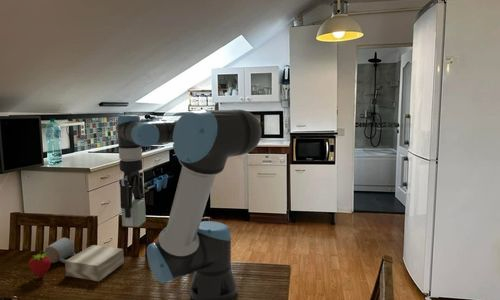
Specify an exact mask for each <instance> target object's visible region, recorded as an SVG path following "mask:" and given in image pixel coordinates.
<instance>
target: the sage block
mask: <svg viewBox="0 0 500 300" xmlns="http://www.w3.org/2000/svg"><path fill="white" fill-rule="evenodd" d="M120 208H121V207H120ZM131 208H133V218H134V226H132V227H133V228H134V227H135V228H136V227H137V228H139V227H140V226H142V225H143V224H144V223H146V220H147V218H146V214H147V213H146V200H145V199H144V200H137V199H134V198H132V207H131ZM121 221H122V222H121V225H122V227H127V226H126V224H125V209H122V208H121Z"/></svg>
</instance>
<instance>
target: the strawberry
mask: <svg viewBox="0 0 500 300" xmlns="http://www.w3.org/2000/svg"><path fill="white" fill-rule="evenodd" d="M41 252H42V251H40V252H39V253H38V254H36V255H35V254H34V255H33V257H32V258H31V259H30V260H29V262H28V267H29V269H30V271H32V273H33V274H34V275H35V276H37V277H38V278H41V279H43V277H45V275H46V274H47V273H48V271H49V269H50V268H51V264H52V263H51V260H50V258H48V257H47V255H46V254H48V253H46V254H44V253H42V254H41Z"/></svg>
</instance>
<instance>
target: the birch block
mask: <svg viewBox="0 0 500 300" xmlns="http://www.w3.org/2000/svg"><path fill="white" fill-rule="evenodd" d="M75 254H76V255H74V256H73V255H72V256H71V257H69V258H67V259H65V260H66V261H65V263H64V266H65V268H64V269H65V276H66V277H72V278H79V279H82V280H83V279H84V280H89V281H96V282H100V281H101V280H103V279H104V278H106V277H107V276H109V274H111V273H113V271H115V270H116V269H118V268H120V266H122V265H123V264H125V259H124V257H125V256H124V249H123V248H120V247H119V248H118V247H111V246H103V245H96V244H92V245H90V246H88V247H87V248H85V249H83V250H82V251H80V252H78V253H75Z"/></svg>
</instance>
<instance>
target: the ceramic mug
mask: <svg viewBox="0 0 500 300" xmlns="http://www.w3.org/2000/svg"><path fill="white" fill-rule="evenodd" d="M46 253H48V254H46ZM43 254H46V255H47V257H48V258H50V260H51V264H56V263H58V262H59V263H60V262H61V263H63V264H65V261H66V260H67V259H68V257H70V256H72V257H73V256H74V255H76V254H77V253H76V252H75V246H74V243H73V242H72V241H71V240H70V239H69V238H67V237H62V238H60V239H58V240H56V241H55V242H53V243H51V244H49V245H48V246H47V247H45V249H44V253H43ZM66 258H67V259H66Z"/></svg>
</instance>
